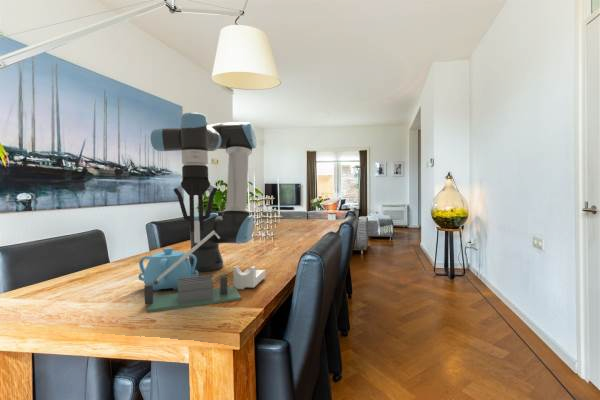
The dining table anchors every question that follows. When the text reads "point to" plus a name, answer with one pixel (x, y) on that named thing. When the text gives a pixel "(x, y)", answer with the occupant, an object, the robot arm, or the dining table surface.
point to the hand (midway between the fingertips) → (197, 242)
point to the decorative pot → (162, 263)
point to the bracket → (247, 277)
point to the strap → (185, 256)
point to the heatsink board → (174, 300)
